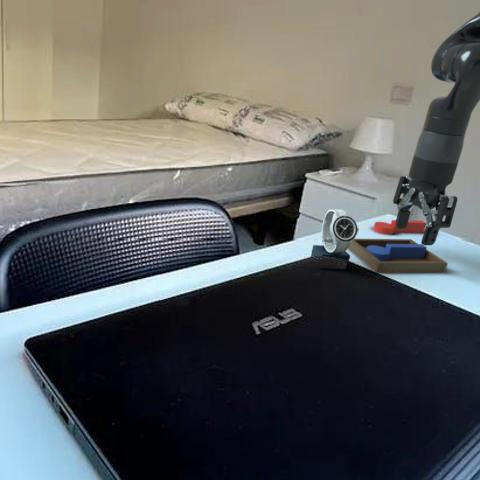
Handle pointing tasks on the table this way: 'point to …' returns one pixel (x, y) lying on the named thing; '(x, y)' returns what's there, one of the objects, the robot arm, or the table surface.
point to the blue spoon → (397, 251)
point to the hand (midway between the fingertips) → (413, 235)
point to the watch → (336, 235)
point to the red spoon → (390, 229)
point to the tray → (396, 265)
